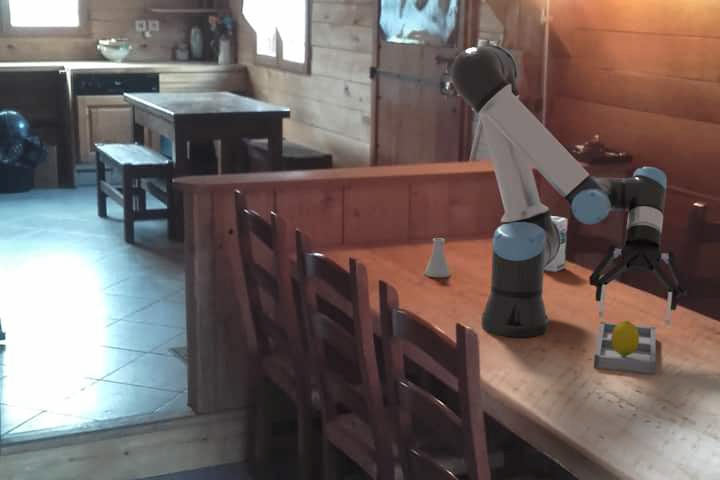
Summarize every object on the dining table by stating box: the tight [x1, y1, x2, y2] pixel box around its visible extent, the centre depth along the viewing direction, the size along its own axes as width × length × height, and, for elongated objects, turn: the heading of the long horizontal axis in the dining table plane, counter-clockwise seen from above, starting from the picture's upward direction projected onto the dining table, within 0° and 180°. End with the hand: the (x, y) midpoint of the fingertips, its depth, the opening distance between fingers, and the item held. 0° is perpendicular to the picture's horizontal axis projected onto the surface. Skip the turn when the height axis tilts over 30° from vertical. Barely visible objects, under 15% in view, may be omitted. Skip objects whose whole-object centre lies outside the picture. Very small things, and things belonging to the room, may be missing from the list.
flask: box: [424, 237, 451, 278], centre depth 265 cm, size 7×7×10 cm
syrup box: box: [544, 215, 569, 273], centre depth 272 cm, size 6×6×14 cm
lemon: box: [611, 320, 639, 357], centre depth 203 cm, size 6×6×8 cm
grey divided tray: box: [593, 321, 657, 375], centre depth 209 cm, size 23×12×2 cm, turn 164°
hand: (633, 318), depth 206 cm, fingers open, 13 cm apart
